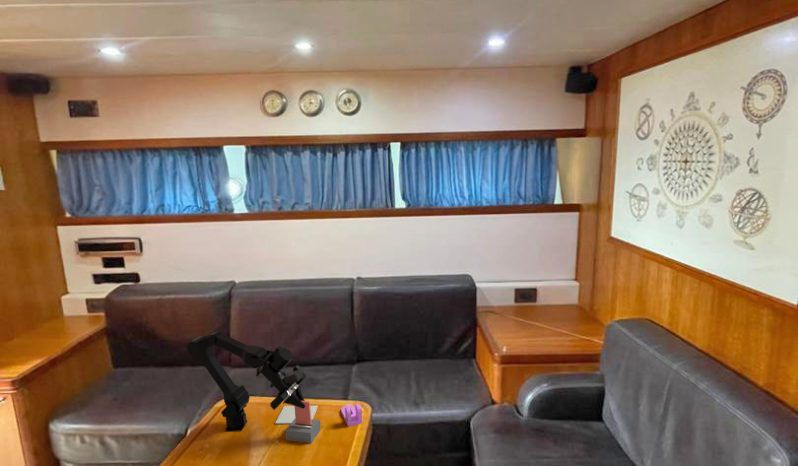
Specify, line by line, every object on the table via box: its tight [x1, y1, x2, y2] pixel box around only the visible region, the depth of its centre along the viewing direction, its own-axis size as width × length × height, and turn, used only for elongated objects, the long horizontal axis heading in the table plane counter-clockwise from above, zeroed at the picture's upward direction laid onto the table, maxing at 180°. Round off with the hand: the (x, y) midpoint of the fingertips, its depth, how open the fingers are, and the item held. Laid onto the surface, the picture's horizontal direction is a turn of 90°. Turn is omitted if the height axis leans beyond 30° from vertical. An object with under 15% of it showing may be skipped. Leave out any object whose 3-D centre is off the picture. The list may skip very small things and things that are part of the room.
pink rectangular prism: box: [293, 400, 312, 425], centre depth 164 cm, size 6×1×9 cm, turn 76°
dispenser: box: [285, 419, 321, 444], centre depth 166 cm, size 10×8×5 cm
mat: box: [274, 405, 319, 425], centre depth 179 cm, size 14×12×1 cm
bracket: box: [340, 403, 363, 427], centre depth 177 cm, size 13×6×7 cm, turn 22°
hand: (305, 406), depth 164 cm, fingers closed on pink rectangular prism, 1 cm apart
